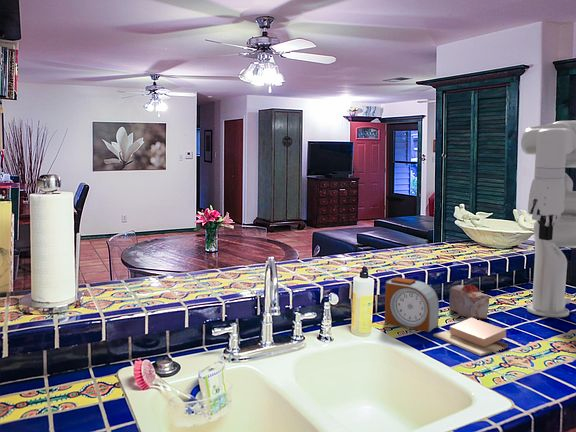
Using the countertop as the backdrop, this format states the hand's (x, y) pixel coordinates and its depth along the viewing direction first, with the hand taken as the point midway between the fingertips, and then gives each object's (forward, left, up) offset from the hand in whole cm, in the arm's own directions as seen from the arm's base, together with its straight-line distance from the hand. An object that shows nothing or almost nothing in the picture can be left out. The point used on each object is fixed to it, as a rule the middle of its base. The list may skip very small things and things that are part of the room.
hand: (545, 239), depth 153 cm
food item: (+2, -24, -29) cm, 38 cm away
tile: (+13, -7, -25) cm, 29 cm away
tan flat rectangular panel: (+21, -7, -28) cm, 36 cm away
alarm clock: (+24, -27, -29) cm, 46 cm away
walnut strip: (+16, -7, -28) cm, 33 cm away
